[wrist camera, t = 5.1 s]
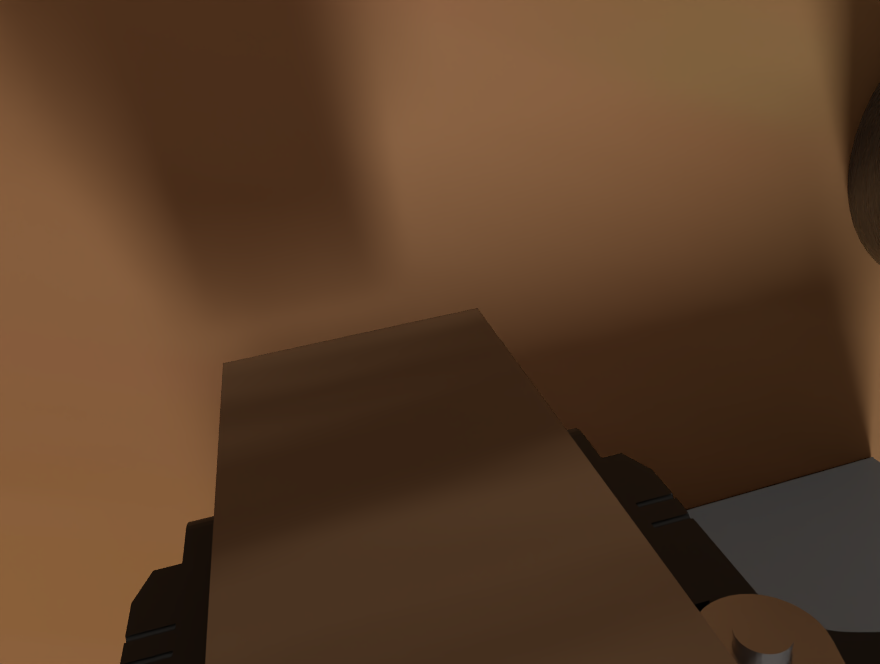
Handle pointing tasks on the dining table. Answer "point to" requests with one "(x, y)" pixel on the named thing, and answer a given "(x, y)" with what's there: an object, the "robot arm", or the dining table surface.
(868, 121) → the round peg
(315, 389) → the square peg
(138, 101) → the dining table surface
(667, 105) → the dining table surface
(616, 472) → the robot arm
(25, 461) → the dining table surface
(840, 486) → the socket block
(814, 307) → the dining table surface
